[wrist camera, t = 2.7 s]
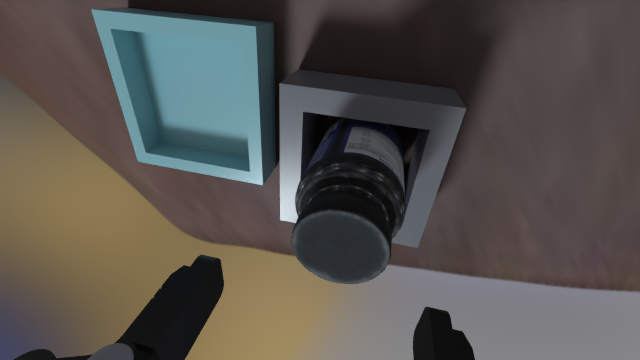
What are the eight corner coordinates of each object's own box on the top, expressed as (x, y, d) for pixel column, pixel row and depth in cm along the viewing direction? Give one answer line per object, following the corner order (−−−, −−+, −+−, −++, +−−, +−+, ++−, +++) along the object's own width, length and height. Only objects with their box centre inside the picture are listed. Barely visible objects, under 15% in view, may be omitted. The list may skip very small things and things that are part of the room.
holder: (454, 88, 19) (466, 108, 16) (414, 214, 25) (417, 248, 21) (298, 69, 21) (279, 83, 17) (295, 191, 26) (280, 219, 23)
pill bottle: (341, 189, 25) (308, 300, 16) (310, 126, 23) (251, 214, 14) (413, 170, 23) (424, 287, 14) (388, 96, 20) (379, 179, 11)
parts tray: (273, 22, 19) (255, 26, 17) (276, 166, 25) (262, 185, 23) (127, 7, 21) (91, 9, 18) (162, 146, 27) (138, 161, 24)
